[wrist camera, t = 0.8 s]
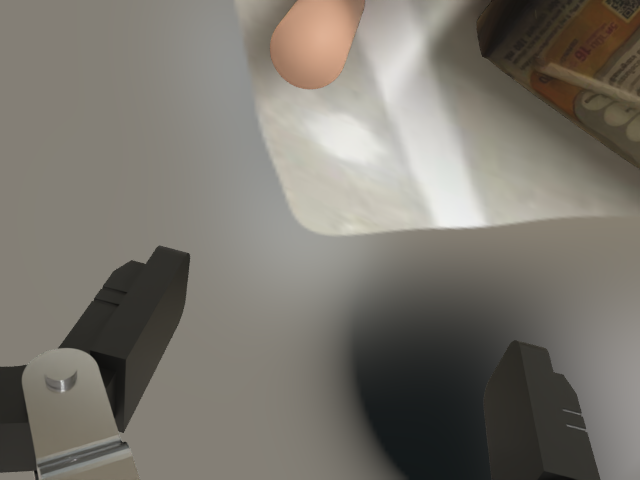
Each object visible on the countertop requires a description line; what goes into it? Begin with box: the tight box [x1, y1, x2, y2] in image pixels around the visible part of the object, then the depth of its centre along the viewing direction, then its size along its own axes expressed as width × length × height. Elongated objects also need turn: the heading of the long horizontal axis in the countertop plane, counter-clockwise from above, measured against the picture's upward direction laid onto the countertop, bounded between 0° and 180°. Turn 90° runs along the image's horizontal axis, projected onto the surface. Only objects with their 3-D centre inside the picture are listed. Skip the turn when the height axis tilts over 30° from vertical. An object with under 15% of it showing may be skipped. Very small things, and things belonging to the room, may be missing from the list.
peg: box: [270, 0, 365, 89], centre depth 30 cm, size 3×3×10 cm
